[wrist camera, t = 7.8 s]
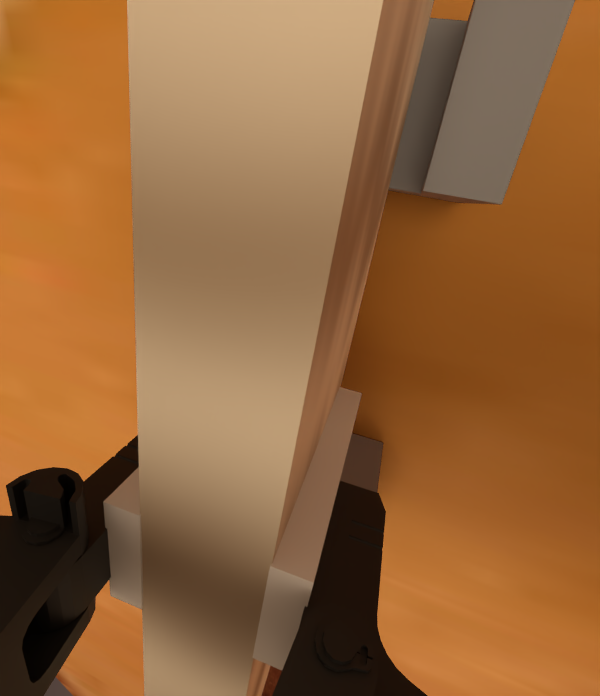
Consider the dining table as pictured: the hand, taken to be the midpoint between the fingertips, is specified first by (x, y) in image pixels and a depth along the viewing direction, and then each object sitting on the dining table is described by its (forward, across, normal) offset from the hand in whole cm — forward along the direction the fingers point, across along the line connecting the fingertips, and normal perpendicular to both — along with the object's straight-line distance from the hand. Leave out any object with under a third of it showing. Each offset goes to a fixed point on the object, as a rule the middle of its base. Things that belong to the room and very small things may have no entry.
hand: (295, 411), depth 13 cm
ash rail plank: (+1, 0, 0) cm, 1 cm away
